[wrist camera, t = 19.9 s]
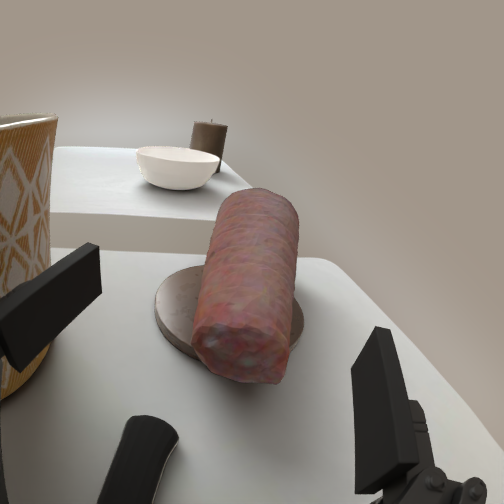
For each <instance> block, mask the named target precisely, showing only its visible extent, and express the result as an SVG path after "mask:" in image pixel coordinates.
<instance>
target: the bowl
mask: <svg viewBox="0 0 504 504" xmlns="http://www.w3.org/2000/svg"><path fill="white" fill-rule="evenodd" d="M136 158H137V164H138V166H139V168H140V172H141V174H142V175H143V177H144V178H145V180H146V181H148V182H150V183H152V184H154V185H156V186H158V187H161V188H166V189H172V190H189V189H194V188H198V187H201V186H203V185H204V184H205V183H206V182H207V181H208V180H210V178H211V176H212V174H214V173H215V172H216V169H217V167H218V164H219V162H220V158H218V157H217V156H215V155H212V154H209V153H206V152H202V151H198V150H193V149H186V148H179V147H166V146H150V147H142V148H138V149H137V150H136Z"/></svg>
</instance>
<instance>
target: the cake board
mask: <svg viewBox="0 0 504 504" xmlns="http://www.w3.org/2000/svg"><path fill="white" fill-rule="evenodd" d="M204 266H205V265H201V266H194V267H189V268H186V269H183V270H180V271H178V272H176V273H174V274H172V275H171V276H169V277H168V278H167V279H165V281H164V282H163V283H162V284H161V285H160V287H159V288H158V291H157V293H156V298H155V317H156V320H157V323H158V326H159V328H160V330H161V331H162V333H163V334H164V335H165V337H166V338H167V339H168V340H169V341H170V342H171V343H172V344H173V345H174V346H175V347H177V348H178V349H179V350H180V351H182V352H184V353H185V354H187V355H188V356H190V357H192V358H195V359H197V360H199V361H201V362H202V360H201V359H200V358H199V357H198V355H197V354H196V352H195V350H194V348H193V346H192V345H191V340H192V332H193V322H194V317H195V313H196V309H197V306H198V296H199V292H200V289H201V279H202V275H203V270H204ZM303 328H304V316H303V313H302V309H301V307H300V305H299V304H298V302H297V301H296V299H295V298H294V299H293V302H292V322H291V331H290V343H289V351H290V352H291V351H292V350H293V349H294V348H295V346H296V345H297V343H298V341H299V339H300V336H301V334H302V331H303Z"/></svg>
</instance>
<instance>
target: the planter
mask: <svg viewBox="0 0 504 504" xmlns="http://www.w3.org/2000/svg"><path fill="white" fill-rule="evenodd" d="M57 121H58V116H57V115H56V114H52V113H28V114H14V115H3V116H0V298H2V297H3V296H6V294H7V293H8V292H10V291H12V289H14V288H15V287H16V286H18V285H19V284H21V283H24V282H26V281H29V280H32V279H34V278H35V277H36V276H38V275H39V274H41V273H42V272H44V271H45V270H46V269H48V268H49V267H51V257H50V230H49V213H50V185H51V171H52V160H53V150H54V142H55V135H56V128H57ZM50 343H51V342H50ZM50 343H49V344H48V345H47V346H46V347H45V348H44V349H43V350H42V351H41V352H40V353H39V354H38V355H37V357H36V358H35V359H34V360H33V361H32V362H31V363H30V364H29V365H28V366H27V367H26V368H25V369H24V370H23V371H22V372H21V373H19V372H18V371H17V370H15V369H14V368H13V367H12V366H10V365H9V363H8V361H7V359H6V356H5V355H4V356H3V357H2V358H1V359H2V361H3V371H2V383H1V400H2V399H3V398H5V397H7V396H8V395H10V394H11V393H13V392H14V391H16V390H17V389H18V388H19V387H20V386H22V385H23V384H24V383H25V382H26V381H27V380H28V379H29V378H30V376H31V375H32V374H33V373H34V372H35V370H36V369H37V368H38V366H39V365H40V363H41V362H42V360H43V358H44V357H45V355H46V353H47V351H48V348H49V346H50Z"/></svg>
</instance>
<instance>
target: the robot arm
mask: <svg viewBox="0 0 504 504" xmlns="http://www.w3.org/2000/svg"><path fill="white" fill-rule="evenodd" d="M100 294H102V286H101V273H100V254H99V246H97V245H94V244H91V243H86V244H84V245H83V246H81V247H79V248H78V249H76V250H75V251H73V252H72V253H70V254H69V255H67V256H66V257H64V258H63V259H61V260H60V261H58V262H57V263H55V264H54V265H52V266H51V267H49V268H48V269H46V270H45V271H44V272H42V273H41V274H39V275H38V276H36V277H35V278H34V279H32V280H29V281H26V282H24V283H21V284H19V285H18V286H16V287H15V288H14V289H12V291H10V292H8V293H7V294H6V296H3V297H2V298H0V404H1V383H2V371H3V361H2V359H1V358H2V357H3V356H4V355H5V356H6V359H7V361H8V363H9V365H10V366H12V367H13V368H14V369H15V370H17V371H18V372H19V373H21V372H22V371H23V370H24V369H25V368H26V367H27V366H28V365H29V364H30V363H31V362H32V361H33V360H34V359H35V358H36V357H37V355H38V354H39V353H40V352H41V351H42V350H43V349H44V348H45V347H46V346H47V345H48V344H49V343H50V342H51V341H52V340H53V339H54V338H55V337H56V336H57V335H58V334H59V333H60V332H61V331H62V330H63V329H64V328H65V327H66V326H67V325H68V324H70V323H71V322H72V321H73V320H74V319H75V318H76V317H77V316H78V315H79V314H80V313H81V312H82V311H83V310H84V309H85V308H86V307H87V306H88V305H90V304H91V303H92V302H93V301H94V300H95V299H96V298H97V297H98V296H99V295H100ZM351 377H352V391H353V407H354V429H355V494H375V493H377V492H378V491H380V490H381V489H383V496H382V497H380V498H378V499H377V500H375V501H373V502H371V503H370V504H485V502H486V497H487V488H486V485H485V483H484V482H483V480H481V479H480V478H477V477H473V478H470V479H468V480H467V481H465V482H464V483H460V482H456V481H452V480H448V479H447V477H446V474H445V473H444V472H443V471H442V470H441V469H440V468H438V467H435V464H434V458H433V453H432V447H431V442H430V437H429V433H428V428H427V424H426V419H425V414H424V411H423V409H422V407H421V406H420V404H419V403H418V401H417V400H408V395H407V391H406V387H405V382H404V378H403V374H402V370H401V366H400V363H399V359H398V355H397V351H396V348H395V344H394V341H393V337H392V334H391V331H390V329H386V328H382V327H377V326H375V328H374V330H373V331H372V333H371V335H370V337H369V339H368V340H367V342H366V344H365V346H364V347H363V349H362V351H361V353H360V354H359V356H358V358H357V359H356V361H355V363H354V364H353V366H352V368H351ZM0 504H9V502H8V497H7V491H6V485H5V478H4V470H3V461H2V449H1V429H0Z"/></svg>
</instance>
